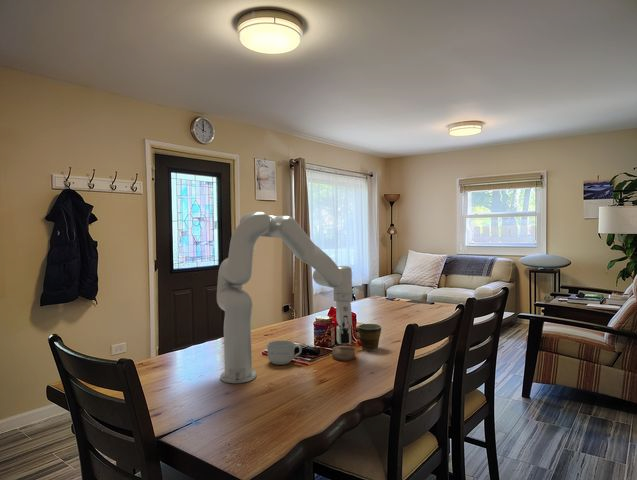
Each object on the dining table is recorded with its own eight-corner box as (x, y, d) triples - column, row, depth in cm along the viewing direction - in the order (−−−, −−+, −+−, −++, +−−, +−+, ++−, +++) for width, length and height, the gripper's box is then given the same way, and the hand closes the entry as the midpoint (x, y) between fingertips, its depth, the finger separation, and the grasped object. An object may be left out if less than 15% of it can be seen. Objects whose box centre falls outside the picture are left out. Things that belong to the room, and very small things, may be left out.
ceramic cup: (381, 346, 186) (380, 323, 186) (382, 353, 176) (382, 329, 176) (351, 345, 187) (351, 323, 187) (351, 352, 178) (350, 329, 177)
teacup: (261, 364, 164) (261, 344, 163) (277, 356, 173) (277, 337, 173) (292, 370, 157) (292, 348, 157) (306, 361, 167) (306, 341, 166)
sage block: (351, 343, 169) (350, 328, 169) (338, 344, 168) (338, 329, 168) (348, 340, 174) (348, 325, 174) (336, 340, 173) (336, 326, 173)
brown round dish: (356, 360, 167) (356, 351, 167) (334, 361, 166) (334, 352, 166) (352, 353, 176) (352, 344, 176) (330, 354, 175) (330, 345, 175)
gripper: (356, 300, 162) (357, 346, 163) (347, 293, 179) (348, 335, 180) (337, 301, 161) (338, 348, 162) (330, 293, 178) (331, 336, 179)
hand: (343, 340), depth 171 cm, fingers closed on sage block, 5 cm apart
